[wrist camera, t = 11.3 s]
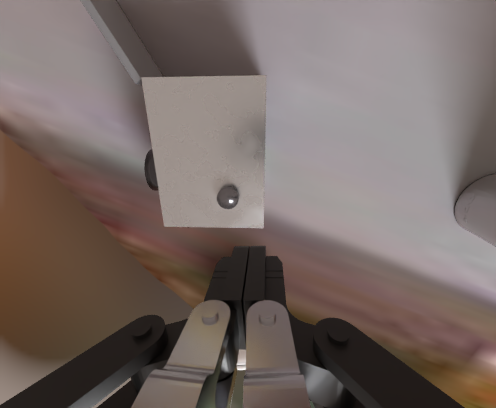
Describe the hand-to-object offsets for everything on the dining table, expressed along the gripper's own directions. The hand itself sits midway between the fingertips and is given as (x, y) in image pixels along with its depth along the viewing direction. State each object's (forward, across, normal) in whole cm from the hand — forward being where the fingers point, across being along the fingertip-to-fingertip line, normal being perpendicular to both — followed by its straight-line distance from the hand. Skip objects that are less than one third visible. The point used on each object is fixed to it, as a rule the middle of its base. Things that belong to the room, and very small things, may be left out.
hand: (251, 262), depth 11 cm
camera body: (+24, +6, -3) cm, 25 cm away
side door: (+23, +15, -16) cm, 32 cm away
